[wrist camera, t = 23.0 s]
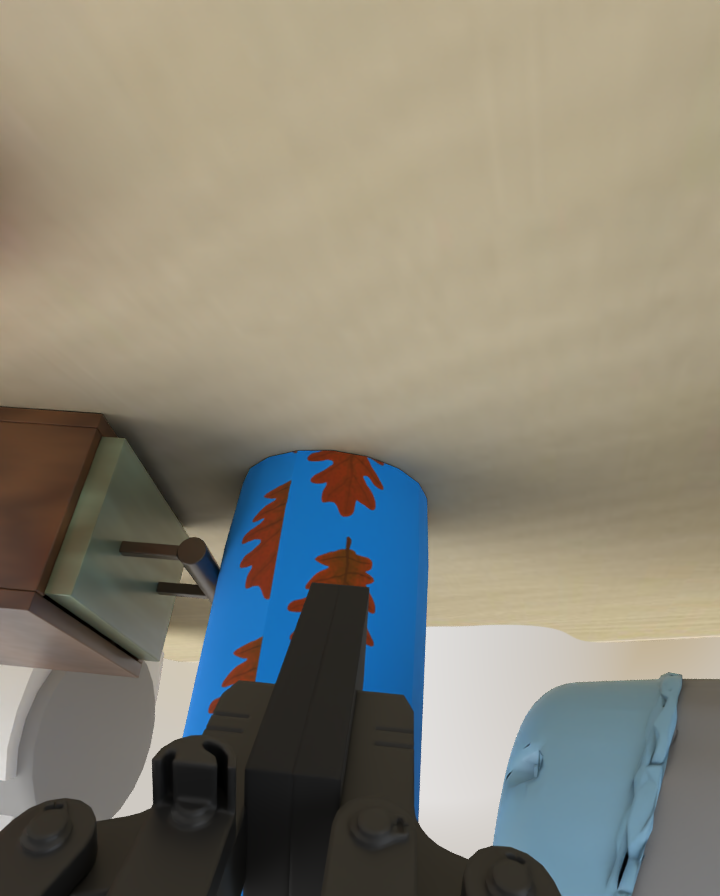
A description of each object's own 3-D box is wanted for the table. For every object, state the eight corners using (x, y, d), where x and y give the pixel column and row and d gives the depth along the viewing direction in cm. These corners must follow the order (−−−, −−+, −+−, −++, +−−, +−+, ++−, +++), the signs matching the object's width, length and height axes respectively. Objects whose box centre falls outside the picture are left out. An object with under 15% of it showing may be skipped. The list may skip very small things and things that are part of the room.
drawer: (213, 444, 29) (171, 604, 25) (255, 544, 40) (231, 668, 36) (-140, 418, 30) (-232, 568, 26) (-8, 522, 41) (-59, 641, 37)
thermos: (385, 548, 41) (344, 1063, 28) (225, 511, 38) (99, 1063, 25) (465, 481, 32) (460, 1191, 19) (265, 426, 29) (100, 1212, 16)
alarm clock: (0, 574, 54) (-113, 845, 44) (80, 573, 52) (-19, 860, 41) (119, 630, 69) (56, 845, 58) (186, 632, 66) (133, 856, 56)
